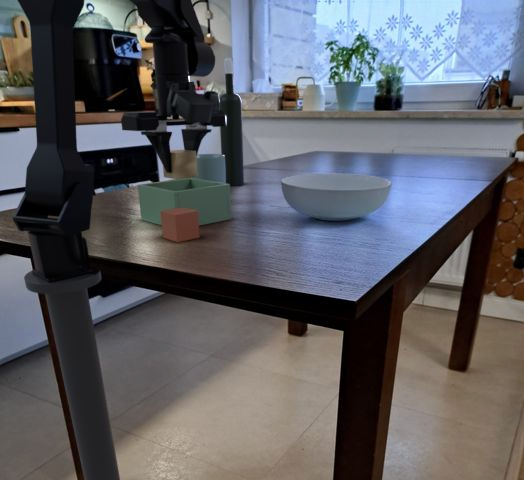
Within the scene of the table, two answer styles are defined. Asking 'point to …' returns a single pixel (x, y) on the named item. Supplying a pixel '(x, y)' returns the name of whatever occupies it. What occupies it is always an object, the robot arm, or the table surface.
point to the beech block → (182, 164)
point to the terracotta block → (180, 224)
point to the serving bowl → (335, 195)
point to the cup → (211, 167)
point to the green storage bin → (186, 199)
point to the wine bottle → (232, 130)
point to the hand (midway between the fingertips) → (180, 171)
